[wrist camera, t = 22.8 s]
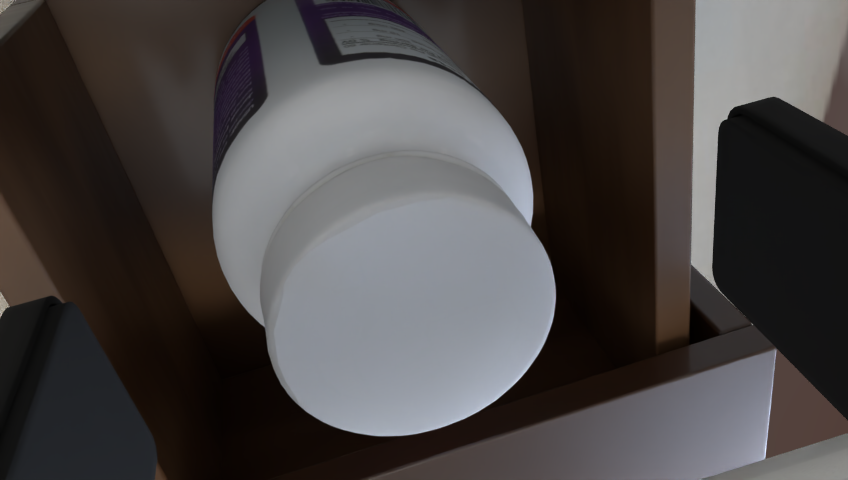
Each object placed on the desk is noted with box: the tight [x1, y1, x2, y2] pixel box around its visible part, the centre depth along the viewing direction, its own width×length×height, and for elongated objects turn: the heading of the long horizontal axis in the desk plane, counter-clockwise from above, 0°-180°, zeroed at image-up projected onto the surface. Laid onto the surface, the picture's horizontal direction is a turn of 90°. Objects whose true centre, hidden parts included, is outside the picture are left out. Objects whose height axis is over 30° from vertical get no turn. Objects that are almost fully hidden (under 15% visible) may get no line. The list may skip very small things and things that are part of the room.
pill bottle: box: [212, 0, 556, 436], centre depth 14 cm, size 5×5×10 cm
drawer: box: [0, 0, 696, 480], centre depth 14 cm, size 20×13×8 cm, turn 11°
